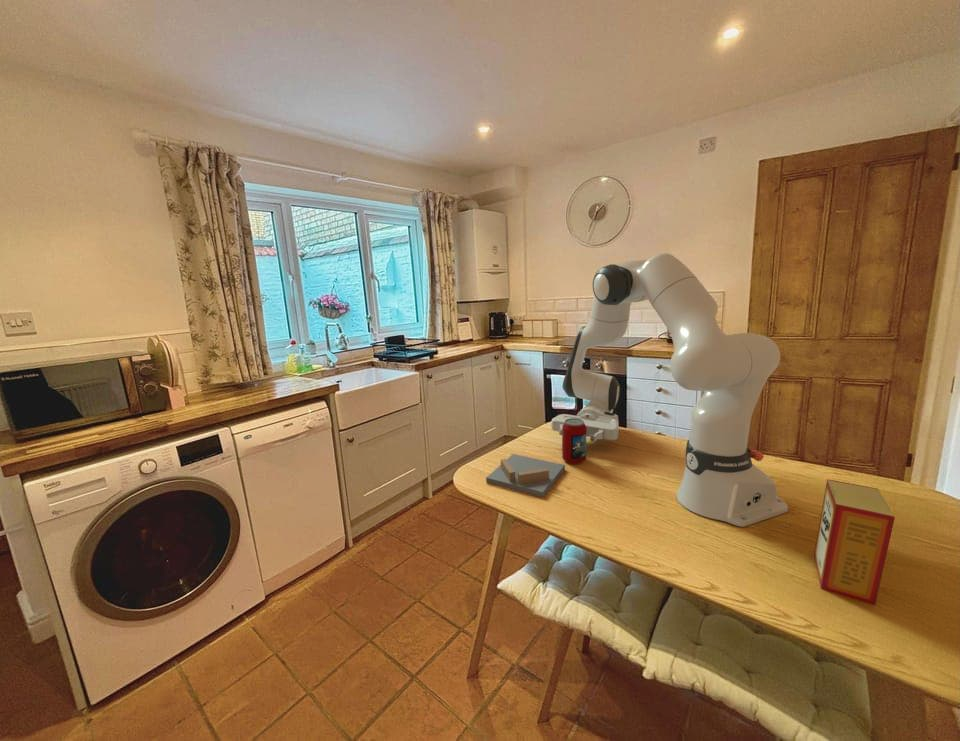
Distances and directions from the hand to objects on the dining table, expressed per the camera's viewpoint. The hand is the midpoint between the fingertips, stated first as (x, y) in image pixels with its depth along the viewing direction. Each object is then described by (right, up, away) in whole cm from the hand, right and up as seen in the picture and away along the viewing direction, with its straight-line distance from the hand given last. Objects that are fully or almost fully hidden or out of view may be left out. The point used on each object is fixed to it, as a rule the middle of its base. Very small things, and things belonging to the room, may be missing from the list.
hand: (577, 435), depth 115 cm
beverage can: (-1, -7, 0) cm, 7 cm away
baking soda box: (+34, -17, -47) cm, 61 cm away
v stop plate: (-16, -10, -8) cm, 20 cm away
